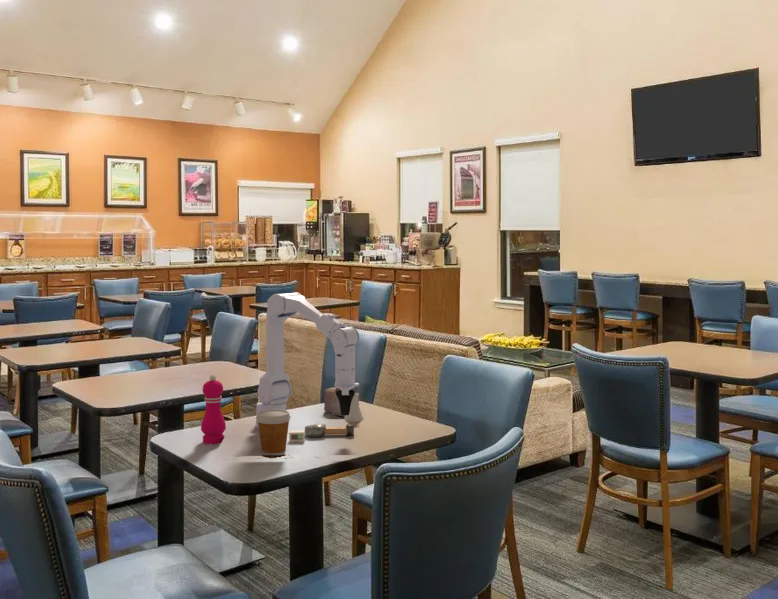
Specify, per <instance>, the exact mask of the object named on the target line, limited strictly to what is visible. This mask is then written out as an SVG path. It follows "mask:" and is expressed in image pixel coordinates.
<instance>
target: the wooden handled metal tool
mask: <svg viewBox="0 0 778 599" xmlns="http://www.w3.org/2000/svg"><path fill="white" fill-rule="evenodd" d="M304 430H305V438H309V439H320V438H324V437H325V436H326V435H327V436H332V435H333V436H335V435H345V436H346V437H354V436H355V425H354V424H351V423H349V424H346V425H345V426H344V427H335V426H333V427H331V426H330V427H327V424H324V423H314V424H310V425H306V426H305V427H304Z"/></svg>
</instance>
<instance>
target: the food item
mask: <svg viewBox="0 0 778 599" xmlns="http://www.w3.org/2000/svg"><path fill="white" fill-rule="evenodd" d="M336 390H340V389H338V388H336V387H330V388H326V389H325V390H324V404H323V406H324V408H323V409H324V412H326V413H329V412H330V413H329V414H332V415H333V416H340V417H342V416H343V417H342V418H345V415H342V414H341V410H340V404H339V400H338V398H337V396H336ZM358 404H359V405H360V395H359V396H358Z"/></svg>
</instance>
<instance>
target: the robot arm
mask: <svg viewBox="0 0 778 599" xmlns="http://www.w3.org/2000/svg"><path fill="white" fill-rule="evenodd" d="M266 301H267V302H266V303H267V304H266V305H267V311H266V315H265V319H266V320H265V328H266V329H265V332H266V333H265V341H266V342H265V344H266V345H265V346H266V347H265V348H266V349H265V353H266V354H265V357H266V358H265V359H266V360H265V361H266V362H265V363H266V365H265V366H266V367H265V369H266V371H265V373H264V374H263V375H261V377H260V378H259V384H258V387H257V396H258V399H259V400H260V401H261V402H257V403H256V408H255V413H256V414H255V428H256V429H259V426H258V421H257V419H256V417H257V415H258V412H260V411H264V410H273V409H278V410H286V411H287V402H288V400H289V398H290V397H291V395H292V390H293V389H292V385H291V382H290V376H289V375H288V374H287V373H286V372H285V337H284V336H285V329H284V328H285V327H284V325H285V324H284V323H285V321H287V320H288V319H289V317H291V316H293V315H296V314H299V315H301V316H303V317H304V318H306V319H307V320H309V321H311V322H313V323H314V324H315V326H316V329H317V331H319V332H320V333H322V334H323V336H325V337H327V338H328V339H329V340H330V342H331V344H332V346H333V352H334V356H335V357H334V358H335V360H334V361H335V362H334V363H335V368H334V369H335V370H334V373H335V374H334V375H335V376H334V377H335V379H334V380H335V381H334V382H335V383H334V388H338V389H340V390H336V396H337V398H338V400H339V404H340V410H341V414H342V415H349V412H350V407H351V402H352V399H353V396H354V394H355V393H356V389H354V388H356V387H360V383H359V382H356V346H357V344H358V343H359V341H360V333H359V331H358V330H357V329H356V328H355V326H354V325H353V326H352V325H351V326H350V325H348V326H347V325H346V324H345V322H341V321H340V320H338V319H336V318H335V315H334V314H333V313H324V314H323V313H322V312H321V311H319V310H318V309H317V307H316V308H315V306H313V305H312V304H311V303H310V302H309V301H308V300H306V297H305V295H302V294H301V293H300V292H296V291H294V292H287V293H273V294H272V295H271V296H269V298H268V299H267V300H266Z"/></svg>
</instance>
